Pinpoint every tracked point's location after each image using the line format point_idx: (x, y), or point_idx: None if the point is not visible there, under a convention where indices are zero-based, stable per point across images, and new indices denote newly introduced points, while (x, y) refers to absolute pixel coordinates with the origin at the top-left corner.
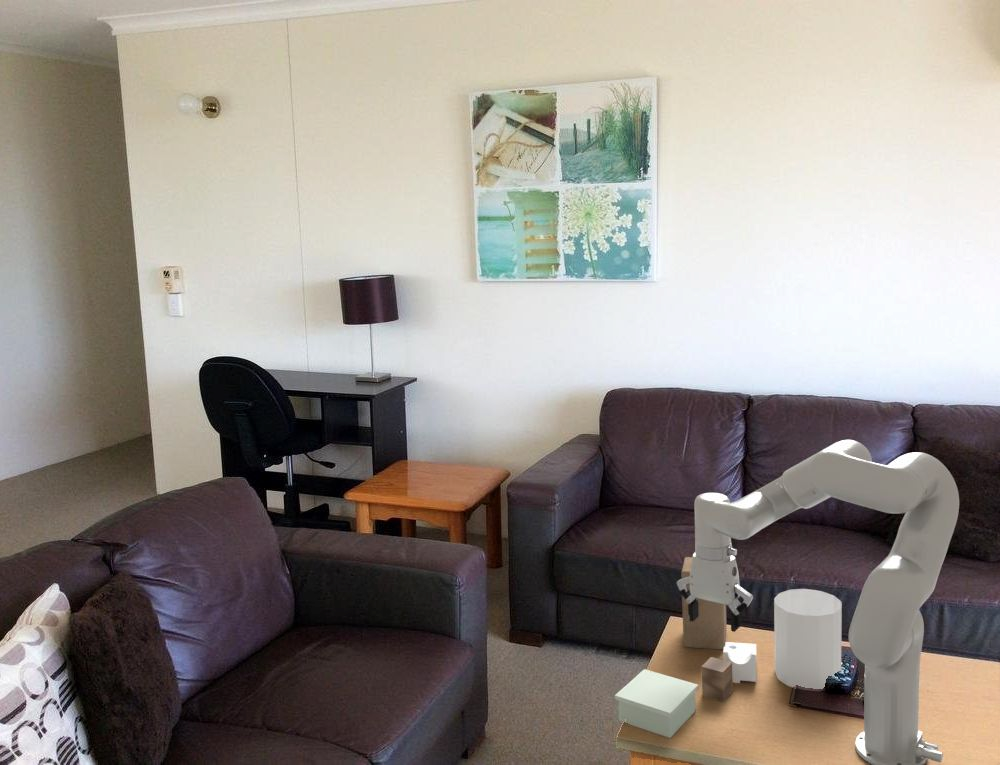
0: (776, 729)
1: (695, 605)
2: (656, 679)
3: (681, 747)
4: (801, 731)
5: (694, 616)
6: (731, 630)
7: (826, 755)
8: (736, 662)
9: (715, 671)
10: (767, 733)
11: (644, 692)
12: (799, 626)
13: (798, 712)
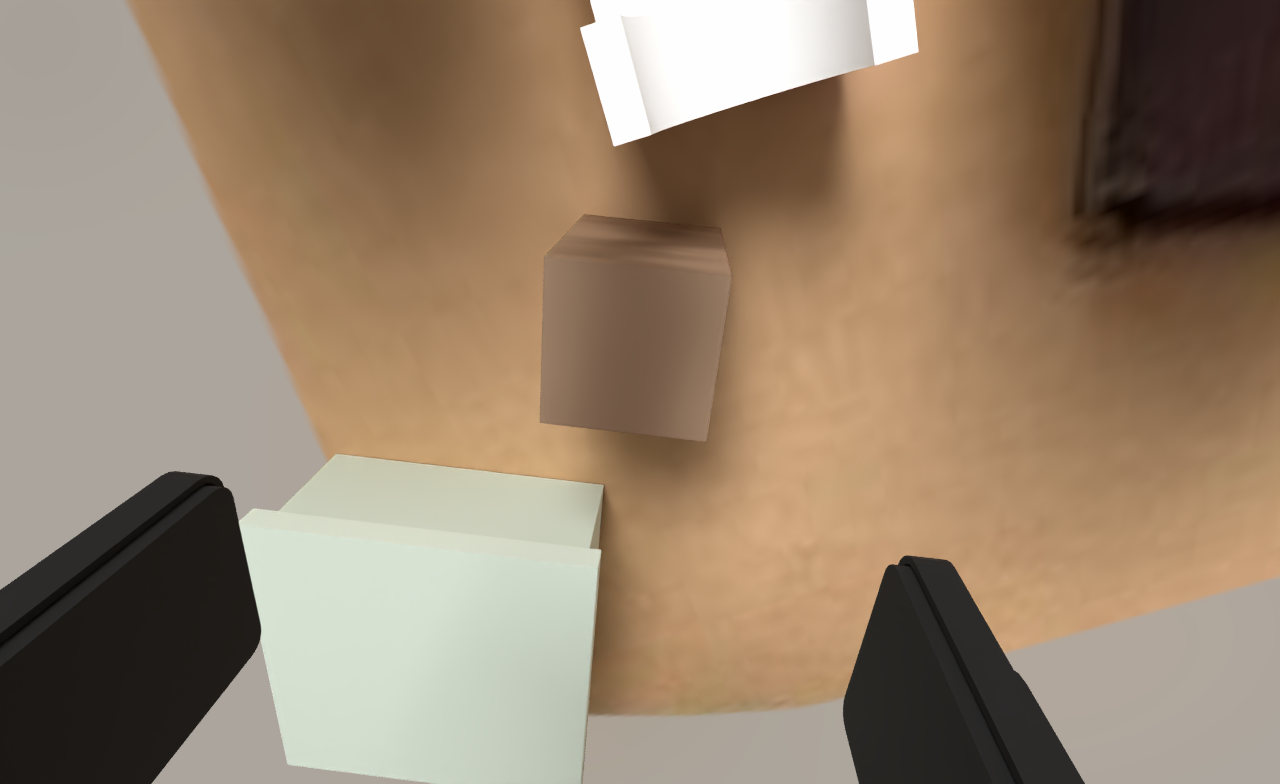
0: (1007, 485)
1: (40, 776)
2: (364, 596)
3: (649, 708)
4: (1135, 457)
5: (215, 641)
6: (846, 709)
7: (1238, 582)
8: (720, 93)
9: (649, 430)
10: (965, 527)
11: (386, 710)
12: None
13: (1130, 293)
